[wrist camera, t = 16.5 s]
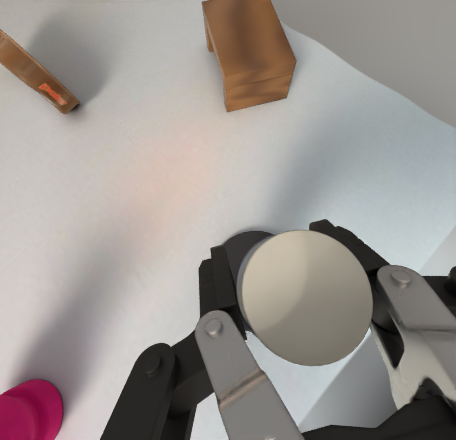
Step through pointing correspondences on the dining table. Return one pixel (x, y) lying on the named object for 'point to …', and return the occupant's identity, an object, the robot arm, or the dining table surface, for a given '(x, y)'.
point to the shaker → (304, 297)
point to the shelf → (249, 51)
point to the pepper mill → (30, 412)
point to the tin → (34, 74)
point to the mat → (242, 250)
